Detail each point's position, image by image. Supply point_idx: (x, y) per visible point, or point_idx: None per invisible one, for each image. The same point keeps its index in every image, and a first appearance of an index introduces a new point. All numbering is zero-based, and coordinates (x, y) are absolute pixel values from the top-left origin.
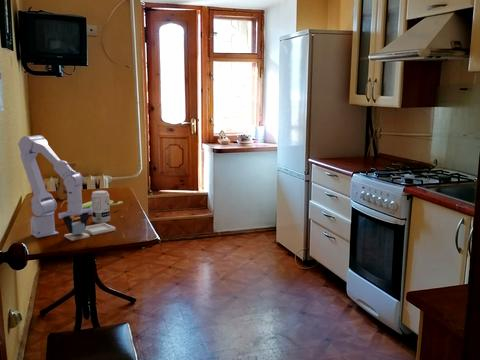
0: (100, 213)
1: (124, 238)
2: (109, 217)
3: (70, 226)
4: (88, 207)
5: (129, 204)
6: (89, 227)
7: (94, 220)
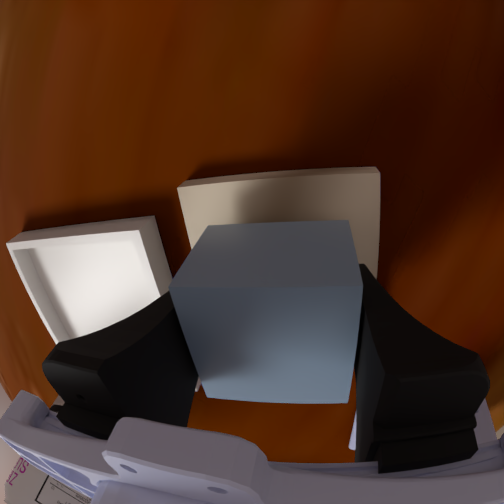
0: None
1: (7, 20)
2: (56, 399)
3: (383, 304)
4: None
5: None
6: None
7: None
